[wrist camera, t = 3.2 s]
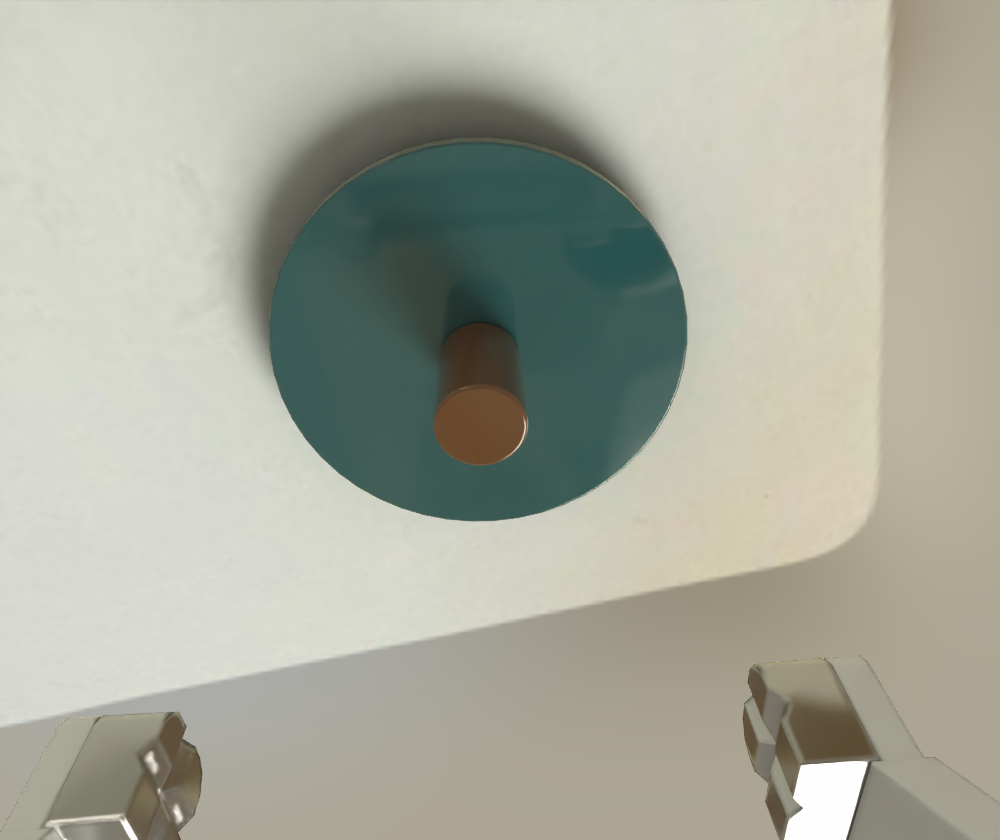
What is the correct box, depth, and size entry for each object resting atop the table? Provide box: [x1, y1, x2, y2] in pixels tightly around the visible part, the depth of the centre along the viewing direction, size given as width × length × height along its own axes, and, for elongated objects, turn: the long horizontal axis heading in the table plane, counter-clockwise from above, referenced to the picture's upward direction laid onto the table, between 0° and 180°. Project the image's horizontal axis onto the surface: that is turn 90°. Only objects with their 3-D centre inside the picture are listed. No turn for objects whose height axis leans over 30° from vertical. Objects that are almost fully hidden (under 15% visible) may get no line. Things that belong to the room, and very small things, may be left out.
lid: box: [269, 137, 687, 521], centre depth 19 cm, size 11×11×5 cm
